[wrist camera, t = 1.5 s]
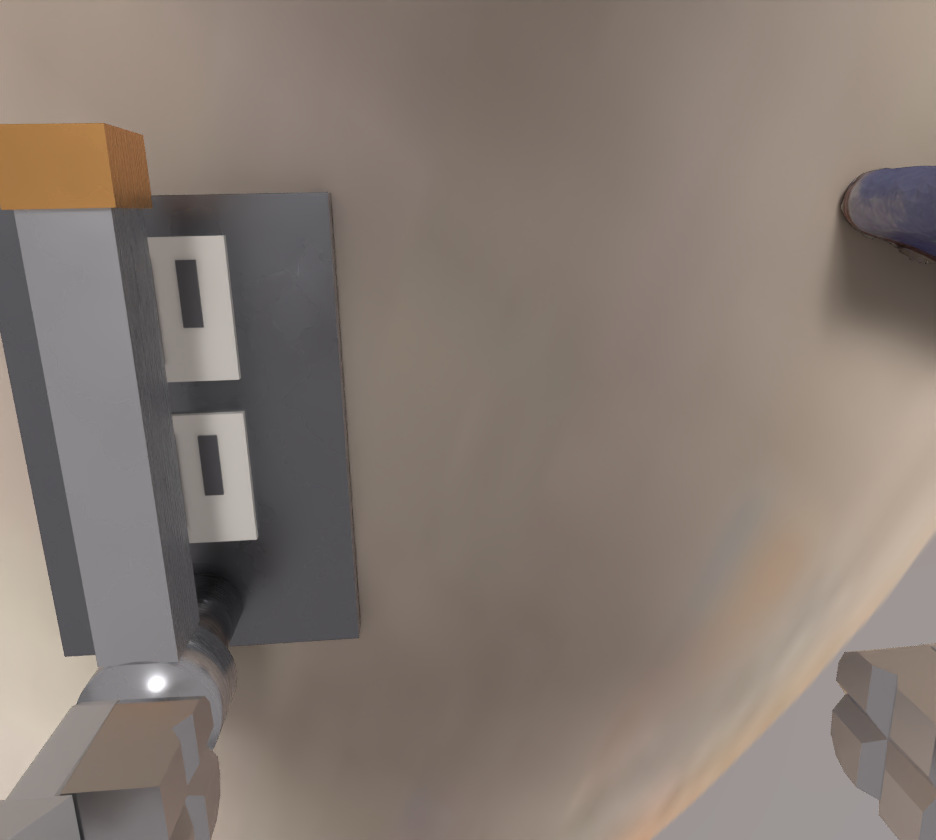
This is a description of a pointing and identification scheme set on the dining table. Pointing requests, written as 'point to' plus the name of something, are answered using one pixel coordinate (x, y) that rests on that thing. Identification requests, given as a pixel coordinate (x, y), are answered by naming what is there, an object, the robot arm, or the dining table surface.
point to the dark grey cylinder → (218, 605)
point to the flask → (896, 208)
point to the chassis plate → (257, 393)
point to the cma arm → (112, 407)
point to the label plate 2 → (215, 476)
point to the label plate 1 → (195, 307)
